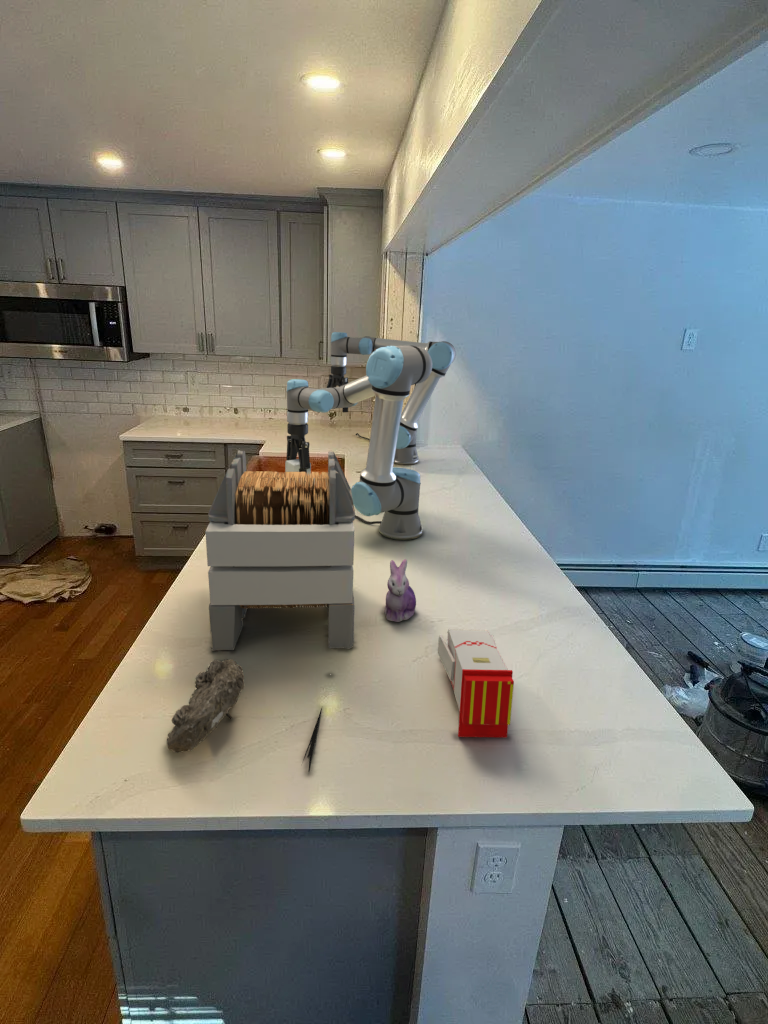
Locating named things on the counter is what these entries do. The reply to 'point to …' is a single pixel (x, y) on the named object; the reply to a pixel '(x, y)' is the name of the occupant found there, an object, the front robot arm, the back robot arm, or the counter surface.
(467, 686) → the toy
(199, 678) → the fossil
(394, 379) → the front robot arm
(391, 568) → the figurine
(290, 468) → the fish oil box
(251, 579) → the record crate stand
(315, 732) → the dark thin pointed piece
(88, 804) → the counter surface
